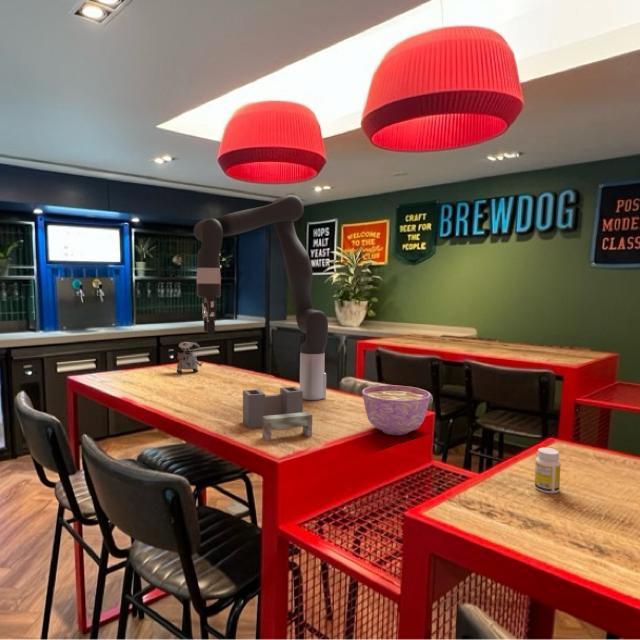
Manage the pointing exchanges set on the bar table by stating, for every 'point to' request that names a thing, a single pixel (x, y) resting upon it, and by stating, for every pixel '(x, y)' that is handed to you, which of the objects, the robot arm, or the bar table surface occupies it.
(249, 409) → the grey hollow block
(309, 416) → the rail
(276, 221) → the robot arm
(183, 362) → the figurine
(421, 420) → the bowl of food
